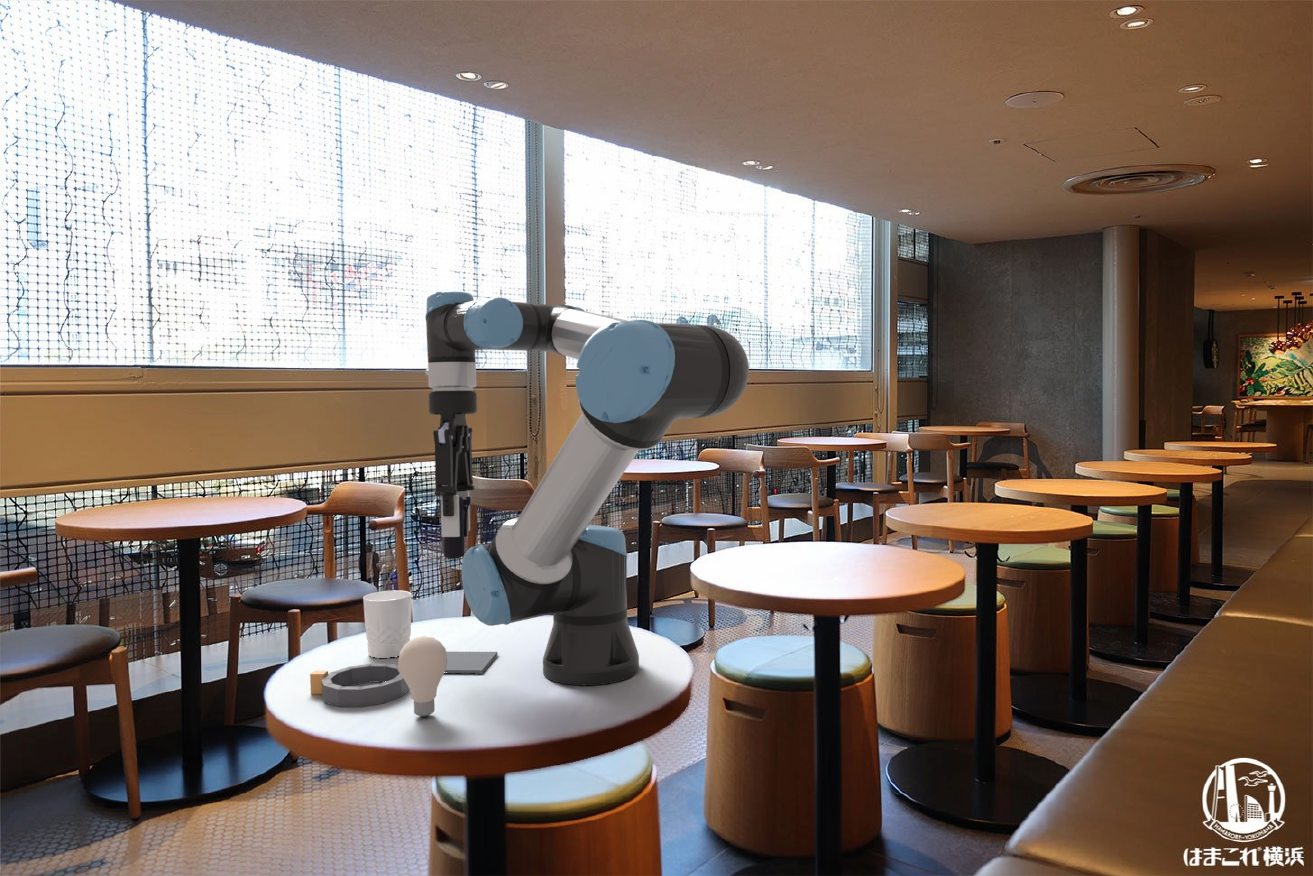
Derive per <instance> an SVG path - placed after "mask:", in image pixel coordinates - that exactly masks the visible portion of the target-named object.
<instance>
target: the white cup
mask: <svg viewBox="0 0 1313 876" xmlns="http://www.w3.org/2000/svg"><path fill="white" fill-rule="evenodd" d="M412 595H413V594H412V592H410V591H408V590H397V589H396V590H382V591H375V592H371V593H368V594H366V595H364V596H362V599H363V600H362V601H363V612H364V628H365V636H366V640H367V654H368V656H369V657H370V656H371V657H370V658H373V657H375V658H374V659H379V658H387V659H391V658H390V657H395V658H397V657H396V656H399V655H400V651H401V650H402V648H403V647H404V645H405V644H406V643H408V642H409V641H411V634H412V633H411V632H412V627H411V626H412V598H413V597H412Z"/></svg>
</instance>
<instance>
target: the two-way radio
mask: <svg viewBox="0 0 1313 876" xmlns="http://www.w3.org/2000/svg"><path fill="white" fill-rule="evenodd" d="M466 499H467V500H463V498H462V497H459V522H460V536H459V537H441V538H442V553H443V557H444V558H446V559H448V560H455V559H456V560H457V559H460V558H462V557H464V555H465V537H466V536H467V534H468V531H467V511H468V507H469V505H470V504H471V497H470V496H469V497H466Z"/></svg>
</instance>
